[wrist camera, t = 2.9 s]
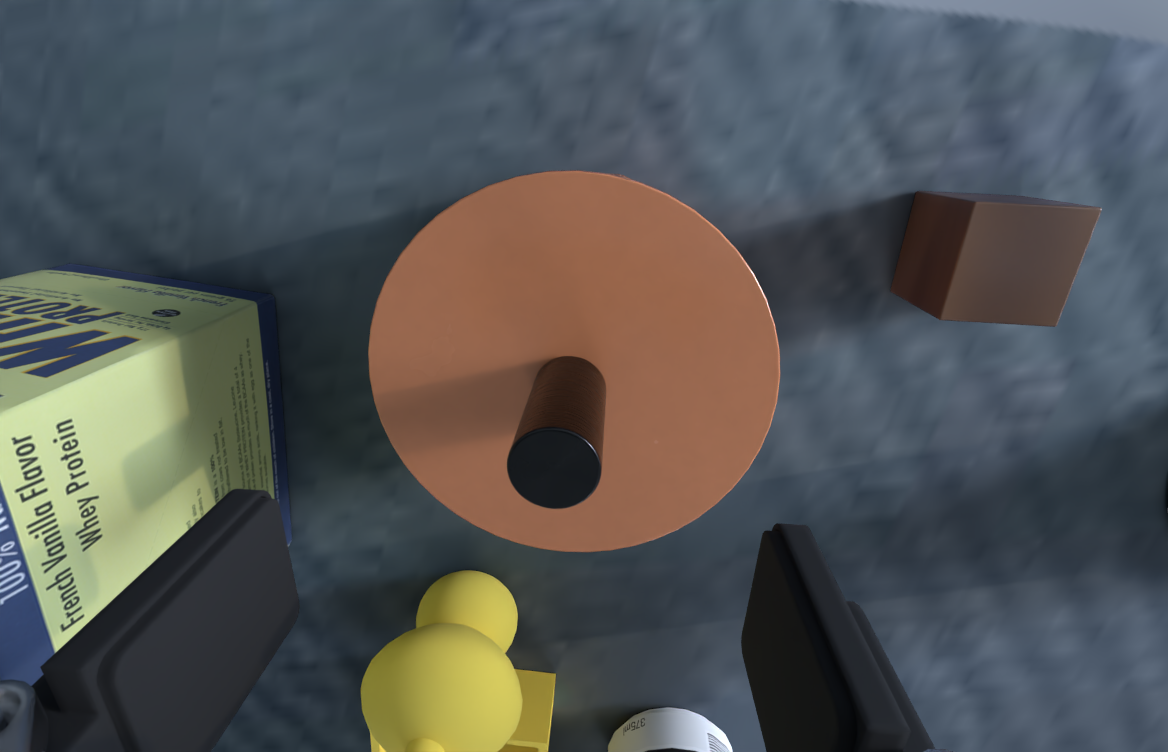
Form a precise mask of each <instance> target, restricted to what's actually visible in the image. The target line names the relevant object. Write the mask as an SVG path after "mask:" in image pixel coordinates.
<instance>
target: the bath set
mask: <svg viewBox="0 0 1168 752" xmlns="http://www.w3.org/2000/svg"><path fill="white" fill-rule="evenodd" d="M517 619H518V613H517V607H516V604H515V601H514V599H513V596H512V594H511V593H510V592H509V590H508V589H507V588H506V587H505V586H504V585H503V584H502V583H501V582H500V581H499V580H497V579H496V578H494V577H493V576H491V575H488V574H486V573H483V572H479V571H472V570H464V571H458V572H453V573H450V574H448V575H445V576H443V577H442V578H440V579H439V580H437V581H436V582H435V583H433V584H432V585H431V587H430V588H429V589H428V590H427V591H426V593H425V595H424V596H423V598H422V600H421V602H420V605H419V608H418V612H417V616H416V629H413V630H410V631H408V632H405V633H404V634H402V635H401V636H399V637H397V638H396V639H394V640H393V641H391V642H390V643H388V644H387V645H386V646H385V647H384V648H383V649H382V650H381V651H380V652H379V653H378V654H377V655H376V656H375V657H374V658H373V659H372V661H371V663H370V664H369V666H368V668H367V670H366V673H365V675H364V677H363V680H362V685H361V702H362V712H363V715H364V717H365V720H366V723H367V725H368V728H369V730H370V737H371V748H372V752H548V749H549V739H550V729H551V719H552V708H553V698H554V688H555V678H556V674H553V673H545V672H536V671H528V670H519V669H514V667H513V665H512V663H511V661H510V660H509V658H508V657H507V656H506V655H505V653H506V651H507V650H508V648H509V647H510V645H511V644H512V641H513V638H514V636H515V633H516V630H517Z"/></svg>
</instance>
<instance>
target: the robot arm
mask: <svg viewBox="0 0 1168 752" xmlns="http://www.w3.org/2000/svg"><path fill="white" fill-rule="evenodd" d="M1167 511H1168V510H1167ZM298 613H299V599H298V594H297V589H296V584H295V579H294V574H293V570H292V565H291V560H290V555H289V550H288V545H287V540H286V535H285V530H284V526H283V521H282V516H281V511H280V506H279V503H278V501H277V500H276V499H272V497H271V495H270V494H269V492H268V491H265V490H251V489H233V490H231V491H230V492H229V493H227V494H226V495H225V496H224V497H223V498H222V499H221V500H220V501H219V502H218V503H217V504H216V505H214V506H213V507H212V508H211V509H210V510H209V511H208V512H207V513H206V514H205V515H204V516H203V517H202V518H200V519H199V520H198V521H197V522H196V523H195V524H194V525H193V526H192V527H191V528H190V529H189V530H187V531H186V532H185V533H184V534H183V535H182V536H181V537H180V538H179V539H178V540H177V541H176V542H175V543H173V544H172V545H171V546H170V547H169V548H168V549H167V550H166V551H165V552H164V553H163V554H162V555H161V556H159V557H158V558H157V559H156V560H155V561H154V562H153V563H152V564H151V565H150V566H149V567H148V568H146V569H145V570H144V571H143V572H142V573H141V574H140V575H139V576H138V577H137V578H136V579H135V580H134V581H132V582H131V583H130V584H129V585H128V586H127V587H126V588H125V589H124V590H123V591H122V592H121V593H120V594H118V595H117V596H116V597H115V598H114V599H113V600H112V601H111V602H110V603H109V604H108V605H107V606H105V607H104V608H103V609H102V610H101V611H100V612H99V613H98V614H97V615H96V616H95V617H94V618H93V619H91V620H90V621H89V622H88V623H87V624H86V625H85V626H84V627H83V628H82V629H81V630H80V631H79V632H77V633H76V634H75V635H74V636H73V637H72V638H71V639H70V640H69V641H68V642H67V643H66V644H64V645H63V646H62V647H61V648H60V649H59V650H58V651H57V652H56V653H55V654H54V655H53V656H52V657H50V658H49V659H48V660H47V661H46V662H45V663H44V664H43V665H42V666H41V667H40V668H41V670H42V672H43V674H44V675H42V676H41V677H40V678H39V679H38V680H37V681H36V682H35V683H34V684H33V685H32V686H30V685H29V684H28V683H26V682H25V681H19V680H13V679H9V680H0V752H211V751H212V749H213V748H214V746H215V745H216V743H217V742H218V740H219V739H220V737H221V735H222V734H223V732H224V731H225V729H226V728H227V726H228V725H229V723H230V722H231V720H232V719H233V717H234V716H235V714H236V713H237V711H238V709H239V708H240V706H241V705H242V703H243V702H244V700H245V699H246V697H247V696H248V694H249V693H250V691H251V690H252V688H253V687H254V685H255V683H256V682H257V680H258V679H259V677H260V676H261V674H262V673H263V671H264V670H265V668H266V667H267V665H268V664H269V662H270V661H271V659H272V657H273V656H274V654H275V653H276V651H277V650H278V648H279V647H280V645H281V644H282V642H283V641H284V639H285V638H286V636H287V634H288V633H289V631H290V630H291V628H292V627H293V625H294V624H295V622H296V619H297V617H298ZM741 644H742V654H743V659H744V663H745V667H746V671H747V675H748V679H749V683H750V687H751V691H752V695H753V699H754V703H755V707H756V711H757V715H758V719H759V723H760V727H761V731H762V735H763V739H764V743H765V747H766V751H767V752H953V751H949V750H946V749H935V747H934V745H933V743H932V741H931V739H930V738H929V736H928V734H927V732H926V730H925V728H924V726H923V724H922V722H921V720H920V719H919V717H918V715H917V713H916V711H915V709H914V707H913V705H912V703H911V701H910V699H909V698H908V696H907V694H906V692H905V690H904V688H903V686H902V684H901V682H900V680H899V679H898V677H897V675H896V673H895V671H894V669H893V667H892V665H891V663H890V661H889V659H888V658H887V656H886V654H885V652H884V650H883V648H882V646H881V644H880V642H879V640H878V639H877V637H876V635H875V633H874V631H873V629H872V627H871V625H870V623H869V621H868V619H867V618H866V616H865V614H864V612H863V611H862V609H861V608H860V606H859V605H858V604H856V603H855V602H853V601H846V600H845V598H844V596H843V594H842V592H841V590H840V588H839V586H838V584H837V582H836V580H835V578H834V576H833V574H832V572H831V570H830V568H829V566H828V564H827V562H826V560H825V558H824V556H823V554H822V552H821V550H820V548H819V546H818V544H817V542H816V540H815V538H814V536H813V534H812V532H811V530H810V529H809V527H808V526H806V525H793V524H778V523H777V524H775V525H774V527H773V529H772V531H764V533H763V535H762V539H761V544H760V549H759V554H758V559H757V564H756V568H755V573H754V578H753V583H752V588H751V593H750V598H749V602H748V607H747V612H746V617H745V622H744V627H743V631H742V640H741Z"/></svg>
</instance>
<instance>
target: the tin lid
mask: <svg viewBox="0 0 1168 752" xmlns="http://www.w3.org/2000/svg"><path fill="white" fill-rule="evenodd" d="M368 357H369V376H370V382H371V387H372V393H373V398H374V402H375V405H376V408H377V411H378V414H379V417H380V420H381V423H382V425H383V427H384V429H385V432H386V434H387V436H388V438H389V440H390V442H391V444H392V446H393V447H394V449H395V450H396V452H397V454H398V455H399V457H400V458H401V460H402V461H403V463H404V464H405V466H406V467H407V468H408V469H409V471H410V472H411V473H412V474H413V476H414V477H415V478H416V479H417V480H418V482H419V483H420V484H421V485H422V486H423V487H424V488H425V489H426V490H427V491H429V492H430V493H431V494H432V495H433V496H434V497H435V498H436V499H437V500H438V501H440V502H441V503H442V504H443V505H445V506H446V507H447V508H449V509H450V510H451V511H452V512H454V513H455V514H457V515H458V516H460V517H462V518H463V519H465V520H467V521H468V522H470V523H471V524H473V525H475V526H477V527H479V528H481V529H483V530H485V531H487V532H490V533H492V534H494V535H496V536H499V537H502V538H504V539H507V540H510V541H513V542H516V543H519V544H523V545H527V546H532V547H536V548H540V549H547V550H555V551H563V552H596V551H609V550H615V549H620V548H625V547H631V546H635V545H638V544H642V543H645V542H648V541H651V540H655V539H657V538H660V537H662V536H664V535H666V534H669V533H671V532H673V531H676V530H678V529H680V528H681V527H683V526H685V525H686V524H688V523H690V522H692V521H693V520H695V519H697V518H698V517H700V516H701V515H702V514H704V513H705V512H706V511H708V510H709V509H710V508H712V507H713V506H714V505H716V504H717V503H718V502H719V501H720V500H721V499H722V498H723V497H724V496H725V495H726V494H727V493H728V492H729V491H730V490H731V489H732V488H733V487H734V486H735V485H736V484H737V482H738V481H739V480H740V479H741V477H742V476H743V475H744V474H745V472H746V471H747V470H748V469H749V467H750V465H751V464H752V462H753V460H754V459H755V457H756V455H757V454H758V452H759V450H760V449H761V446H762V444H763V442H764V439H765V437H766V435H767V432H768V430H769V428H770V425H771V422H772V418H773V414H774V411H775V407H776V403H777V397H778V389H779V381H780V353H779V345H778V339H777V334H776V328H775V323H774V320H773V317H772V314H771V311H770V308H769V305H768V302H767V299H766V297H765V295H764V293H763V291H762V289H761V287H760V285H759V283H758V281H757V279H756V277H755V275H754V273H753V272H752V270H751V269H750V267H749V266H748V265H747V263H746V262H745V260H744V259H743V257H742V256H741V254H740V253H739V252H738V250H737V249H736V248H735V247H734V246H733V245H732V244H731V243H730V242H729V241H728V240H727V238H726V237H725V236H724V235H723V234H722V233H721V232H720V231H719V230H718V229H717V228H716V227H715V226H714V225H712V224H711V223H710V222H709V221H707V220H706V219H705V218H704V217H702V216H701V215H700V214H699V213H697V212H696V211H695V210H694V209H692V208H691V207H689V206H687V205H686V204H684V203H682V202H681V201H679V200H677V199H676V198H674V197H672V196H671V195H669V194H667V193H665V192H662V191H660V190H658V189H655V188H653V187H651V186H648V185H646V184H643V183H641V182H638V181H634V180H631V179H627V178H623V177H619V176H616V175H612V174H606V173H598V172H589V171H581V170H570V171H545V172H539V173H533V174H527V175H521V176H517V177H514V178H510V179H507V180H504V181H501V182H498V183H494V184H491V185H488V186H486V187H484V188H482V189H480V190H478V191H476V192H474V193H472V194H470V195H467V196H465V197H463V198H461V199H460V200H458V201H457V202H455V203H454V204H452V205H451V206H449V207H448V208H447V209H445V210H444V211H442V212H441V213H439V214H438V215H437V216H435V217H434V218H433V219H432V220H431V221H430V222H429V223H428V224H427V225H426V226H424V227H423V228H422V229H421V230H420V231H419V232H418V233H417V234H416V235H415V236H414V238H413V239H412V240H411V241H410V243H409V244H408V245H407V246H406V248H405V249H404V250H403V251H402V252H401V254H400V255H399V257H398V259H397V260H396V262H395V264H394V265H393V267H392V269H391V270H390V272H389V274H388V275H387V277H386V280H385V282H384V284H383V287H382V289H381V292H380V294H379V297H378V299H377V302H376V306H375V310H374V314H373V318H372V322H371V327H370V338H369V348H368Z"/></svg>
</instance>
